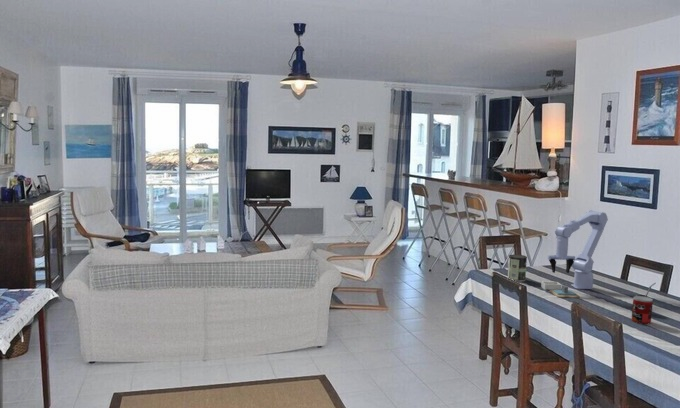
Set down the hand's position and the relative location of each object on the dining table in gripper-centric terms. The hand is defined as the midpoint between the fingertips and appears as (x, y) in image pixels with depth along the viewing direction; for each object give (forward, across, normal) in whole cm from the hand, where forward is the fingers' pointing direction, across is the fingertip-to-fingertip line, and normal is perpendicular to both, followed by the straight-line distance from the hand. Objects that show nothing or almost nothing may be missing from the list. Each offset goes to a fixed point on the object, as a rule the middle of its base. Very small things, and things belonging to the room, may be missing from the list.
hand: (560, 272), depth 312 cm
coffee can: (+10, -17, +21) cm, 29 cm away
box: (+10, -4, +3) cm, 11 cm away
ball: (+8, -6, +3) cm, 10 cm away
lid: (+9, -1, -9) cm, 13 cm away
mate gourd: (+10, +26, -38) cm, 47 cm away
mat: (+10, -1, -9) cm, 14 cm away
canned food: (+10, +17, -53) cm, 56 cm away
